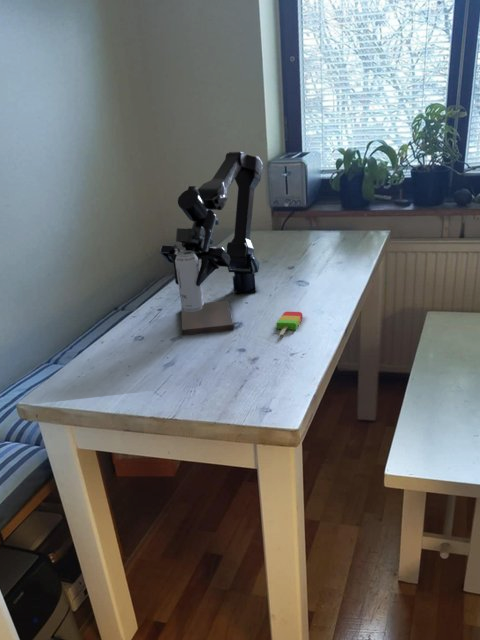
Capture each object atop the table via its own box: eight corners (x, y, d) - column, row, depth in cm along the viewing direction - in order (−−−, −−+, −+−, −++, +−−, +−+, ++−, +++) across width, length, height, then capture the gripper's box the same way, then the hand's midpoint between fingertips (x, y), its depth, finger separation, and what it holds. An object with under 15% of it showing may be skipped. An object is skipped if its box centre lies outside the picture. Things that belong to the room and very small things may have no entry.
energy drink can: (180, 306, 167) (172, 251, 159) (201, 303, 168) (194, 248, 160) (184, 314, 162) (176, 257, 154) (206, 310, 163) (199, 254, 155)
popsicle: (303, 317, 169) (303, 311, 168) (291, 338, 157) (290, 331, 156) (284, 317, 171) (284, 310, 170) (270, 337, 159) (270, 331, 158)
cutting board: (228, 305, 182) (227, 300, 181) (233, 329, 165) (233, 324, 164) (181, 310, 181) (181, 305, 180) (182, 335, 164) (182, 329, 164)
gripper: (157, 213, 158) (141, 267, 156) (220, 214, 151) (205, 272, 149) (177, 236, 169) (162, 287, 166) (237, 238, 162) (222, 292, 159)
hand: (187, 284), depth 160 cm, fingers closed on energy drink can, 6 cm apart
